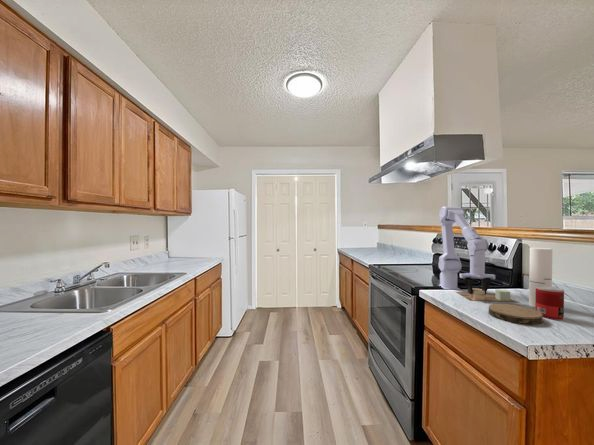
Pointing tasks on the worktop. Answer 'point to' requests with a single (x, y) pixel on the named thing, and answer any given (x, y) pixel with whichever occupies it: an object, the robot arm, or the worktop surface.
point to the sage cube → (502, 295)
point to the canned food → (550, 302)
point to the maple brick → (478, 294)
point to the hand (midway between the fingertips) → (476, 293)
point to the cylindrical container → (539, 271)
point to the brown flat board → (488, 297)
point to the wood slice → (515, 314)
